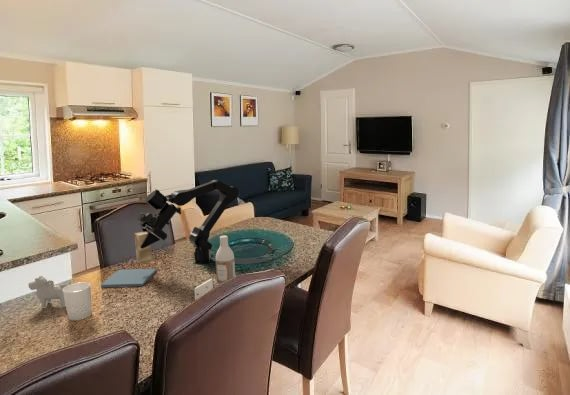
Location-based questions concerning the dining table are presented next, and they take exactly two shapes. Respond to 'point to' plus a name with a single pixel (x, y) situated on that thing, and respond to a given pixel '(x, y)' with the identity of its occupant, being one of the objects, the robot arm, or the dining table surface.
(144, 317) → the dining table surface
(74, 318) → the white cup
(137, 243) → the oak block
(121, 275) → the rubber mat
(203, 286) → the white angled block
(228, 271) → the bath foam
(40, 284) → the grey animal figurine
